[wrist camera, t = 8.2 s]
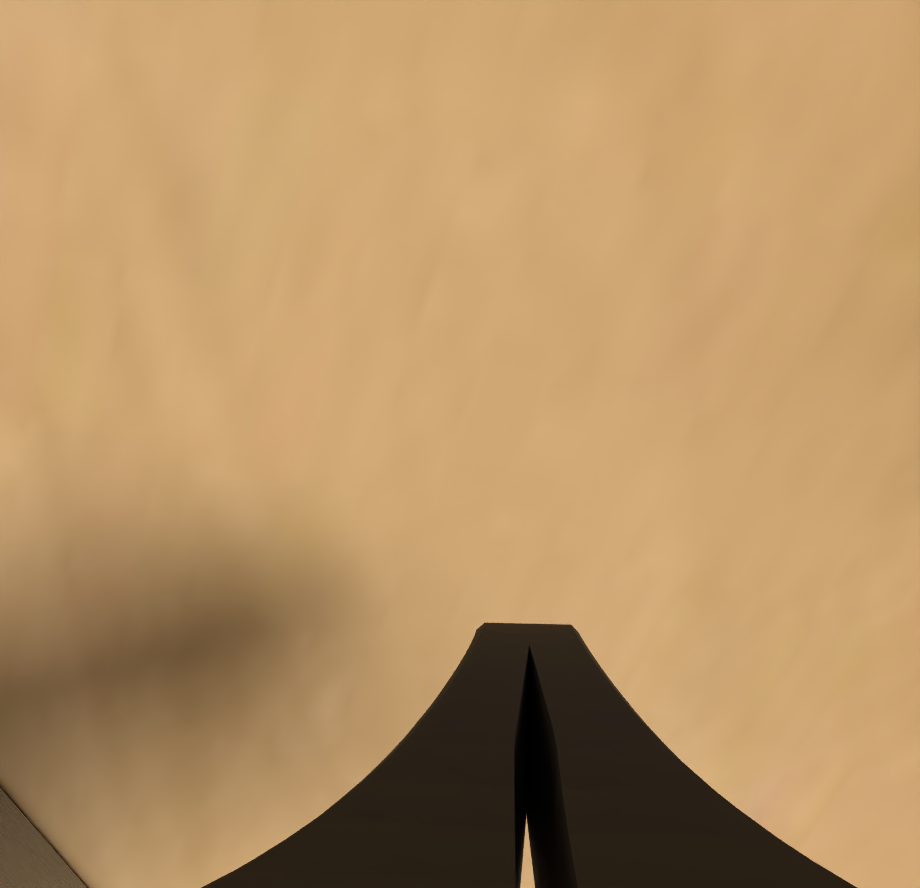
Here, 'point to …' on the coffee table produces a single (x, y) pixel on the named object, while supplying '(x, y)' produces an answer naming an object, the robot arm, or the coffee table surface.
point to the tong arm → (29, 854)
